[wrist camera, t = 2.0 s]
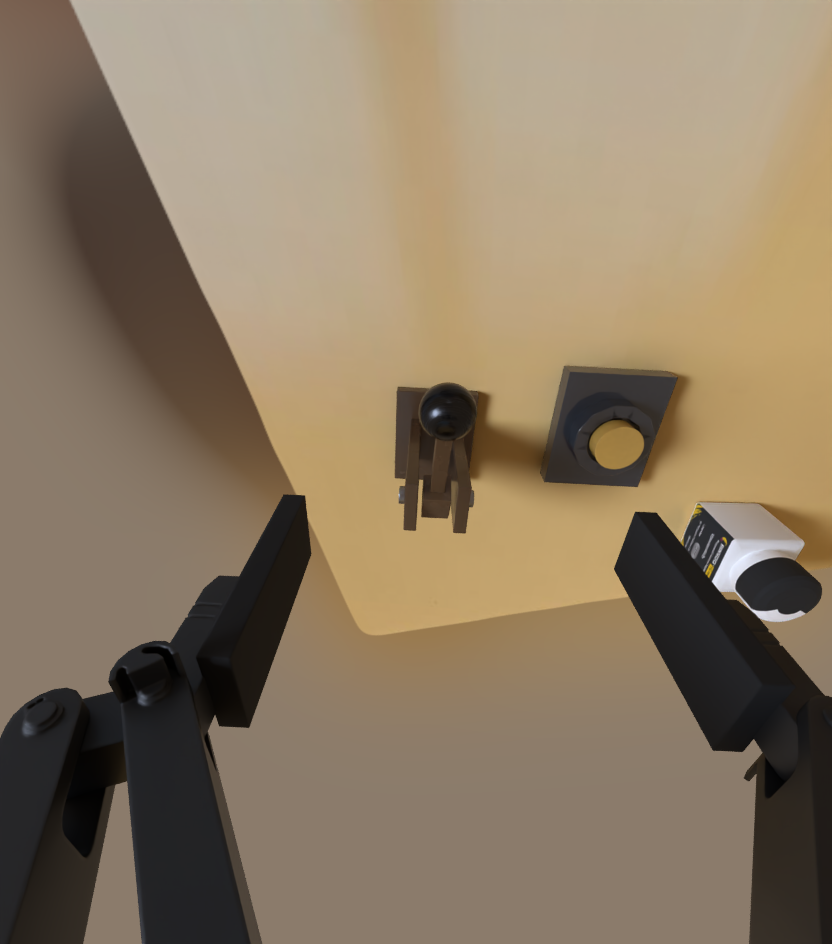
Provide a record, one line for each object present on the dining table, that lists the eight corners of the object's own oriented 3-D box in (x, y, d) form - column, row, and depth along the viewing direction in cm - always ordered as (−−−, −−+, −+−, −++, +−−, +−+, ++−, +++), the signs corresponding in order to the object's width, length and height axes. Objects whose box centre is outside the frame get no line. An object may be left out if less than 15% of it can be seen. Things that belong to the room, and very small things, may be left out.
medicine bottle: (695, 500, 48) (769, 576, 38) (759, 502, 48) (851, 578, 37) (675, 549, 52) (738, 630, 41) (734, 550, 51) (812, 632, 41)
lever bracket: (397, 386, 42) (385, 449, 30) (477, 391, 42) (497, 455, 30) (395, 472, 47) (384, 556, 35) (466, 476, 47) (480, 561, 35)
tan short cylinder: (595, 418, 39) (602, 425, 38) (642, 420, 39) (651, 428, 38) (583, 459, 42) (589, 468, 40) (628, 461, 42) (635, 470, 40)
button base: (564, 365, 41) (576, 378, 37) (667, 371, 41) (689, 384, 37) (539, 472, 47) (548, 492, 43) (629, 477, 47) (646, 497, 43)
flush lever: (420, 368, 26) (418, 412, 23) (479, 371, 26) (482, 415, 23) (414, 486, 36) (412, 523, 34) (456, 488, 36) (456, 525, 34)
